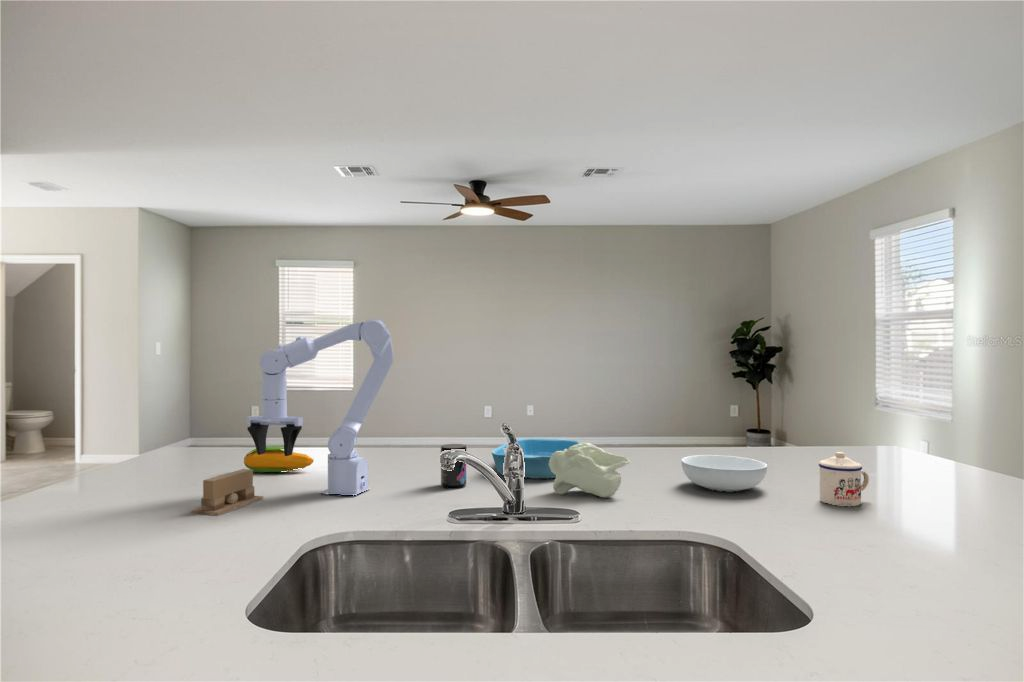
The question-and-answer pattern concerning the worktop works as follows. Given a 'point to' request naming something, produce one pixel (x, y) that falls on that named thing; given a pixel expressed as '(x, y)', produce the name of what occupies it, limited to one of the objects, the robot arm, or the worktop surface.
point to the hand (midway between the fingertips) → (274, 454)
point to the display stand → (227, 502)
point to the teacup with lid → (841, 481)
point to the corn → (276, 460)
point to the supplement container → (457, 475)
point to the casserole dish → (535, 455)
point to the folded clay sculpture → (586, 470)
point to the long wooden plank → (227, 483)
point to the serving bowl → (724, 472)
